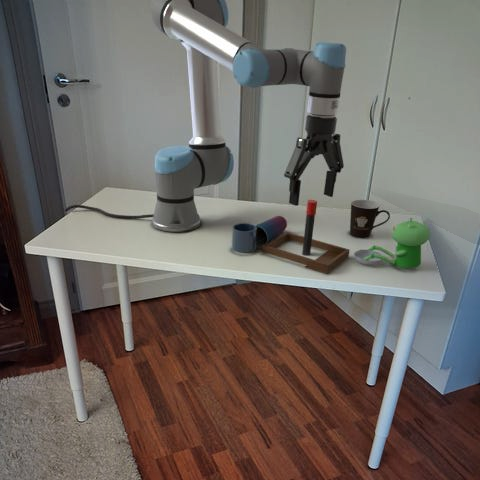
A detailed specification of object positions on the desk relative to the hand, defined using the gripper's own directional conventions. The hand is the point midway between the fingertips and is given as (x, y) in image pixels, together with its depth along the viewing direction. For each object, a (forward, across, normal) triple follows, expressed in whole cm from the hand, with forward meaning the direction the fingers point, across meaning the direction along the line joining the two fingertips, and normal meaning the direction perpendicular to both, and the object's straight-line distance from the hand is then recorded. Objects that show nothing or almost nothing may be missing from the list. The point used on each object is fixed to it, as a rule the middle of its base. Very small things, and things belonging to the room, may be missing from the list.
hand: (311, 199), depth 128 cm
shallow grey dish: (+18, +15, -12) cm, 26 cm away
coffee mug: (+16, +27, 0) cm, 32 cm away
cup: (+14, +6, +17) cm, 23 cm away
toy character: (+16, +16, -18) cm, 29 cm away
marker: (+16, 0, -1) cm, 16 cm away
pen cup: (+16, -12, +13) cm, 24 cm away
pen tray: (+16, 0, 0) cm, 16 cm away
